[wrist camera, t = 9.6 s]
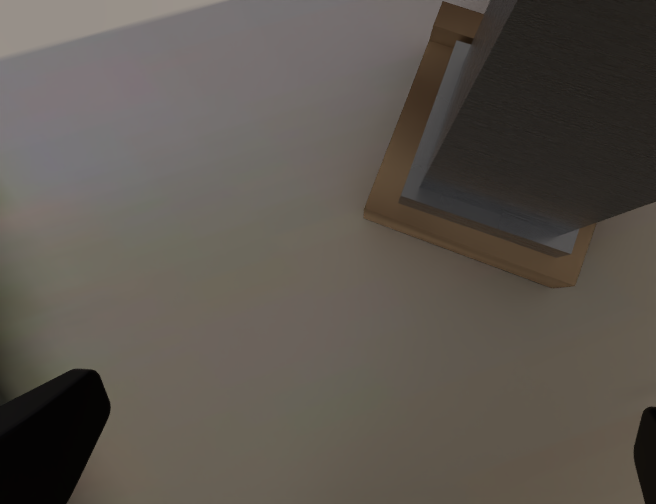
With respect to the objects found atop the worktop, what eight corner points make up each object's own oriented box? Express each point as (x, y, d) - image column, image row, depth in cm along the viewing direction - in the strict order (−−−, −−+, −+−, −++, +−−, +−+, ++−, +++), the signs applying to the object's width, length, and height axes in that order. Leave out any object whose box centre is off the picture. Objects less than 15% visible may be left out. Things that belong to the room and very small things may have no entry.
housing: (556, 257, 18) (1311, 68, 4) (397, 203, 18) (536, -141, 4) (605, 106, 18) (1426, -560, 4) (450, 57, 19) (724, -673, 5)
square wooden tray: (552, 288, 19) (588, 284, 16) (363, 218, 20) (365, 202, 17) (615, 106, 20) (660, 71, 17) (430, 44, 21) (442, 0, 18)
